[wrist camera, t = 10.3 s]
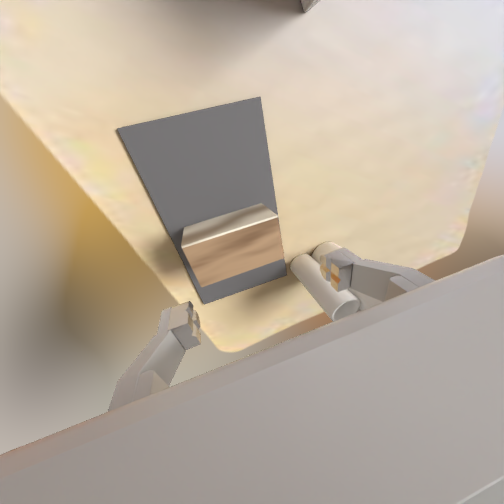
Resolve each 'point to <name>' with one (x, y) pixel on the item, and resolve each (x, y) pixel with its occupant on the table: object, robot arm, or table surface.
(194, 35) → the table surface
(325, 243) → the three-tube pen holder
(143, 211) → the table surface
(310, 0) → the coffee box
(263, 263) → the wooden brick
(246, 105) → the mat
